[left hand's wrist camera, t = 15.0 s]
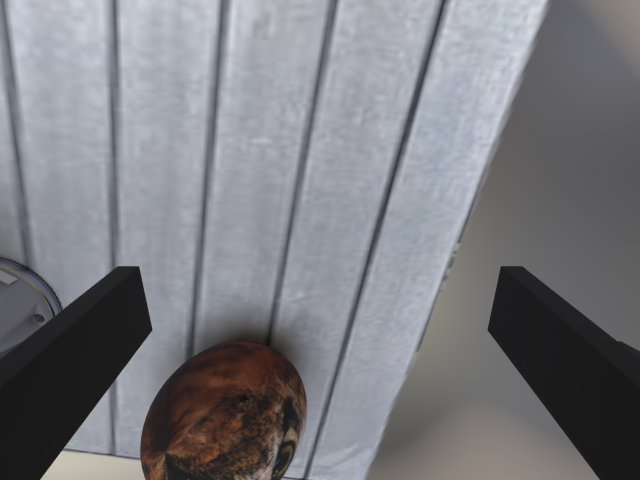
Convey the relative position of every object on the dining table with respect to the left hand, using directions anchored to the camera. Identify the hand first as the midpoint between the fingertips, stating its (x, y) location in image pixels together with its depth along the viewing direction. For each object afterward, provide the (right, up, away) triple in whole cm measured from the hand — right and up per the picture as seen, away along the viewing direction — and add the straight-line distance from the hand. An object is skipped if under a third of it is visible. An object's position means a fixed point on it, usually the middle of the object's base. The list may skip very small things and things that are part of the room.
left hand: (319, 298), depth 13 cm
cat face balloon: (-12, -17, +37) cm, 43 cm away
